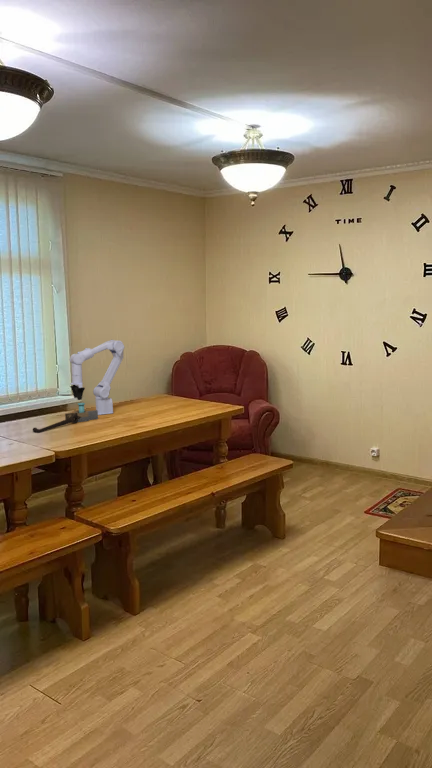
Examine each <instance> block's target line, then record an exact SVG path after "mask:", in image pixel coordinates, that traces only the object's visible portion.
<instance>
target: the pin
mask: <svg viewBox="0 0 432 768" xmlns="http://www.w3.org/2000/svg"><path fill="white" fill-rule="evenodd" d="M85 405H86V403H85V402H78V403H77V406H78V411H79V413H82V412H84V410H85Z"/></svg>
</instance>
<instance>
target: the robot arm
mask: <svg viewBox="0 0 432 768" xmlns="http://www.w3.org/2000/svg"><path fill="white" fill-rule="evenodd" d="M106 350H108V351H109V352H111V354H112V357H113V358H112V359H111V361H110V364H109V365H108V368H107V370H106V372H105V374H104V375H103V377H102V379H101V381H99V382H98V384H97V385H96V386H95V387H94V388H93V391H92V392H93V395H94V397H95V398H94V399H95V410H98V416H101V415H108V414H110V415H111V414H114V407H113V406H114V404H113V399H112V397H109V396H110V391H111V389H112V387H111V384H112V382H113V380H114V378H115V375H116V373H117V371H118V369H120V368H119V367H120V366H121V364H122V361H123V359H124V350H125V345H124V342H123V341H121V340H120V339H119V340H116V339H110V340H106V341H104V342H103V343H101V344H99V345H97V346H95V347H93V348H90V347H86V348H84V350H81V351H77V353H73V354H71V355H70V357H69V359H68V360H69V362H70V363H71V382H70V383H69V385H70V386H69V387H70V389H71V391H72V395H73V398H74V399H77V401H82V399H83V394H84V392H85V389H86V388H85V387H84V386H83V384H84V383H83V365H82V364H83V363H84V362H85V361H88V360H90V359H92V358H94V356H95V355H96V354H97V353H100V352H104V351H106Z"/></svg>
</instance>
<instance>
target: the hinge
mask: <svg viewBox="0 0 432 768" xmlns="http://www.w3.org/2000/svg"><path fill="white" fill-rule="evenodd" d="M73 414H77V416H78V417H81V418H80V419H78V421H77V423H83V422H89V421H92V420H98V419H99V415H98V410H96V409H94V410H93V409H92V410H85V409H84V412H82V413H79V410H77V411H74V412H66V413H64V417H65V418H64V420H66V419H68V418H70V417H71V416H72V415H73ZM74 419H75V418H74Z"/></svg>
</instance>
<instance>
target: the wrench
mask: <svg viewBox="0 0 432 768" xmlns="http://www.w3.org/2000/svg"><path fill="white" fill-rule="evenodd" d="M74 418H75V419H74ZM80 418H81V417H78V416H77V414H73V415H72V416H71V417H70V418H68V419H66V420H65V419H64V420H61V421H58V422H56V423H53V424H50V425H48V426H45V427H42V428H37V427H33V428H32V432H33V433H37V434H38V433H43V432H46V431H49V430H52V429H56V428H59V427H62V426H65V425H69V424H77V423H78V422H77V421H78V419H80Z"/></svg>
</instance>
